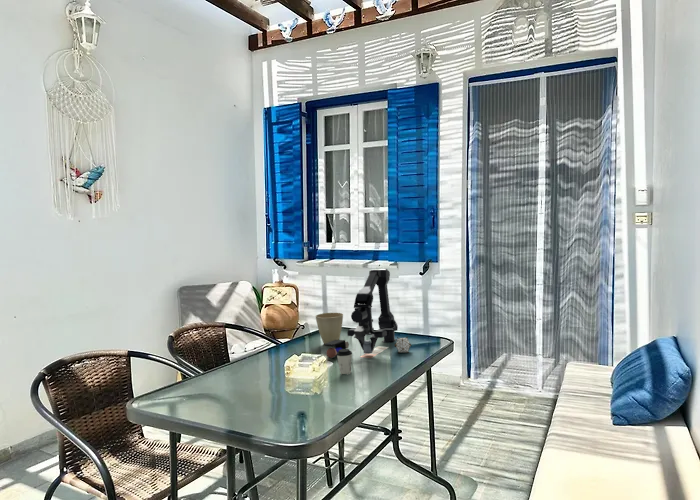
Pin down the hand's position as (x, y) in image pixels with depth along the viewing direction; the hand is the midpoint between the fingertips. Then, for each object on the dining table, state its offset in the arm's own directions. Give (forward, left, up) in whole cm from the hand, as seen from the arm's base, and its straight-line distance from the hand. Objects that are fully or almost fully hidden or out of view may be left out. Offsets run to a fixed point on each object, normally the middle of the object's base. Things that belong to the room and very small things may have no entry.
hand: (368, 350), depth 240 cm
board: (-7, 0, -3) cm, 8 cm away
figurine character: (+1, -17, -3) cm, 17 cm away
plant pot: (-17, -31, -3) cm, 35 cm away
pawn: (0, 0, -1) cm, 1 cm away
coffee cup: (+26, +2, -3) cm, 26 cm away
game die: (-10, +14, -3) cm, 17 cm away
